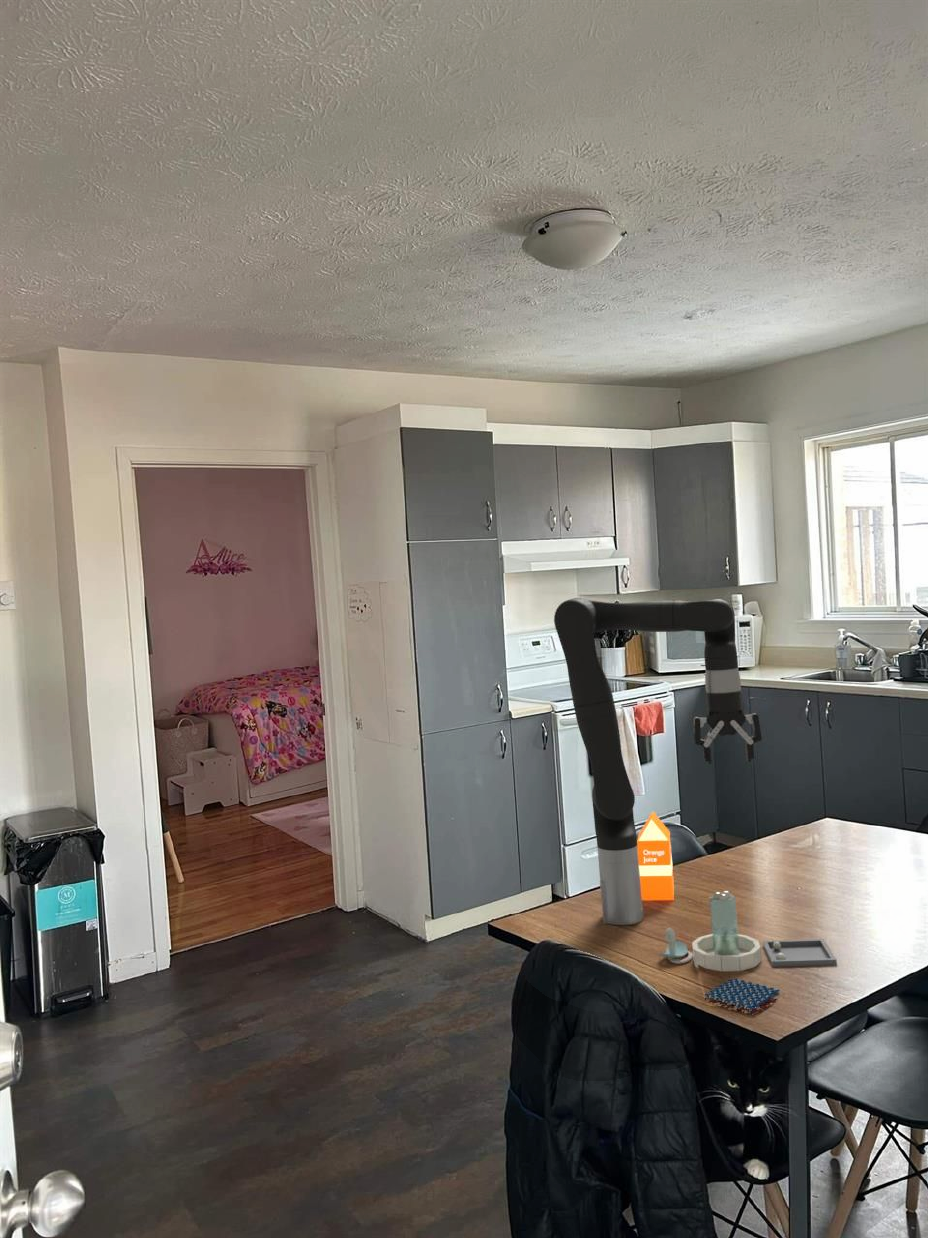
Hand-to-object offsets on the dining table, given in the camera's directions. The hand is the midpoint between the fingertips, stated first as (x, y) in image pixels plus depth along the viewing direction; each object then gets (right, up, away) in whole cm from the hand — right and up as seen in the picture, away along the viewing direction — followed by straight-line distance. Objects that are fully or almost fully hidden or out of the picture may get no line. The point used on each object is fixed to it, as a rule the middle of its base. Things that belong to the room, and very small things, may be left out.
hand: (729, 762), depth 212 cm
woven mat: (-8, -38, -37) cm, 54 cm away
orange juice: (-10, -37, +26) cm, 46 cm away
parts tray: (+8, -36, -21) cm, 43 cm away
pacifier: (-15, -38, -16) cm, 44 cm away
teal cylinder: (-6, -36, -20) cm, 42 cm away
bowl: (-6, -37, -20) cm, 42 cm away
